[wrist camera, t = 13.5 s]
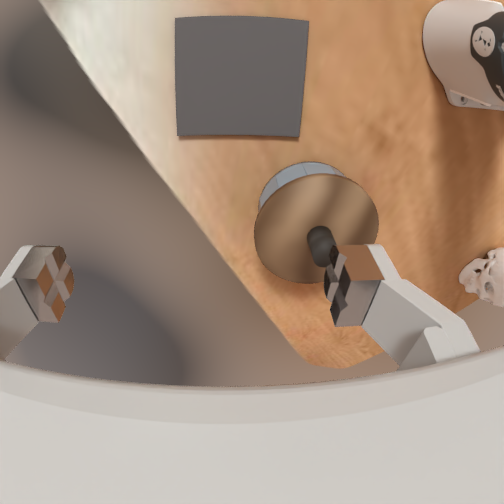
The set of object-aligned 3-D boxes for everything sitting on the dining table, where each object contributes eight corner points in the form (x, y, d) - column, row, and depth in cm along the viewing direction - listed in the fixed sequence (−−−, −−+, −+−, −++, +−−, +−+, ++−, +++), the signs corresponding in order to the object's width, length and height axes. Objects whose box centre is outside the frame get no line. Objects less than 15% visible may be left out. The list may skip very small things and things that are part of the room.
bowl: (362, 165, 40) (379, 184, 35) (343, 246, 49) (354, 271, 44) (261, 159, 39) (265, 178, 34) (256, 246, 48) (258, 272, 43)
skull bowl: (452, 272, 53) (503, 292, 43) (477, 225, 55) (523, 240, 45) (455, 301, 58) (499, 321, 48) (478, 256, 61) (520, 271, 51)
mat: (307, 21, 28) (308, 21, 28) (298, 135, 37) (299, 136, 37) (176, 18, 27) (175, 18, 27) (178, 134, 36) (177, 135, 36)
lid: (388, 178, 35) (406, 198, 31) (359, 276, 45) (370, 301, 41) (257, 170, 34) (261, 191, 30) (251, 278, 44) (253, 306, 40)
